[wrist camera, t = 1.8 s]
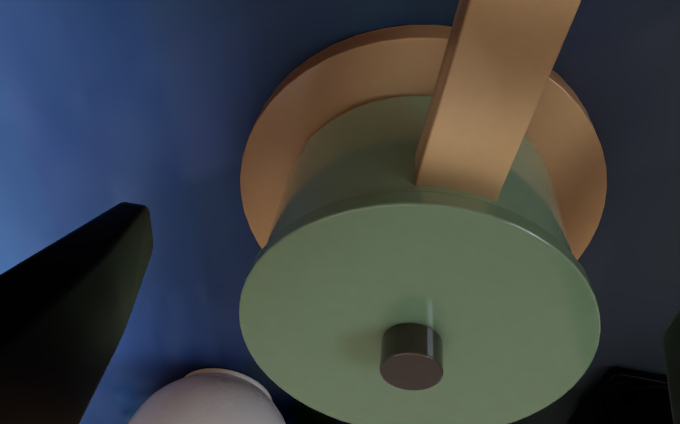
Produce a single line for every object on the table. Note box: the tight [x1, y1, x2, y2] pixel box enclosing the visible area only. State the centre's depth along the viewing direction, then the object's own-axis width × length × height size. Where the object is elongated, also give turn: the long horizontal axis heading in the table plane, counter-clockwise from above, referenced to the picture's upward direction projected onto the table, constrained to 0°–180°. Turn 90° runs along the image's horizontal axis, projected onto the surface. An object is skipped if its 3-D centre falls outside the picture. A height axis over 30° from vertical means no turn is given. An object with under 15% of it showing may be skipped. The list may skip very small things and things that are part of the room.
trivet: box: [240, 25, 607, 260], centre depth 25 cm, size 15×15×1 cm
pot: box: [239, 0, 601, 424], centre depth 18 cm, size 20×12×8 cm, turn 172°
